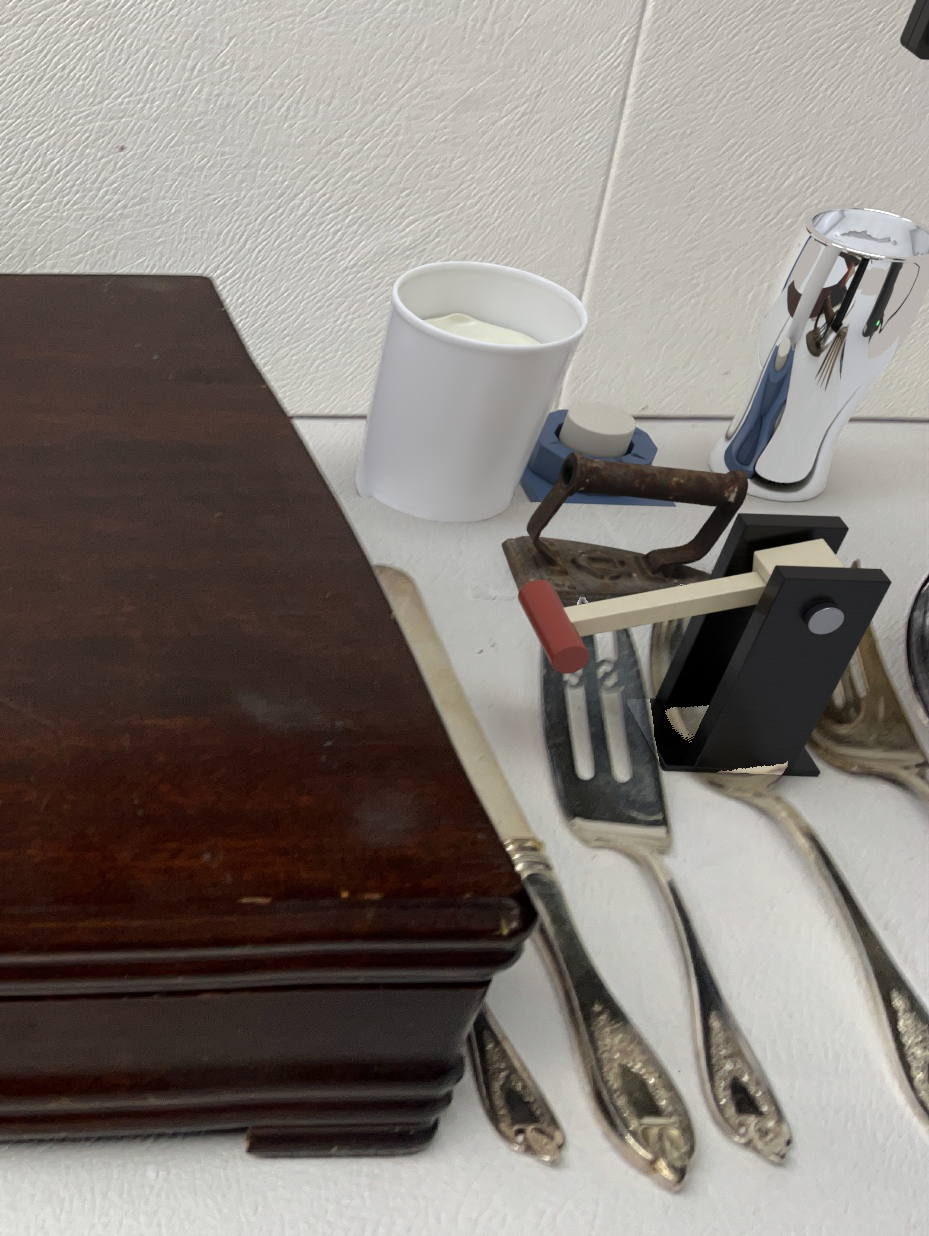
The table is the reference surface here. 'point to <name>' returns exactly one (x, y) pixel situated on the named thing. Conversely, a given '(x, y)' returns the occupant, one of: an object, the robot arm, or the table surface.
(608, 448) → the button
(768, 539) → the switch bracket
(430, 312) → the candle holder
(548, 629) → the switch lever
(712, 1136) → the table surface
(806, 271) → the beer glass
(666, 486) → the clothes iron
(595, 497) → the button block
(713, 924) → the table surface
